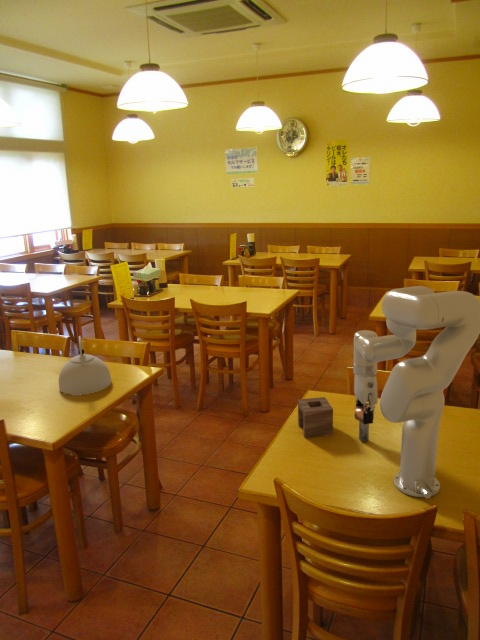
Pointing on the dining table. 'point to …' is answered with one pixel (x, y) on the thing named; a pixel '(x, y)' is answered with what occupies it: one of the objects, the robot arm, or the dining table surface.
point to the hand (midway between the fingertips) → (364, 418)
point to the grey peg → (362, 427)
